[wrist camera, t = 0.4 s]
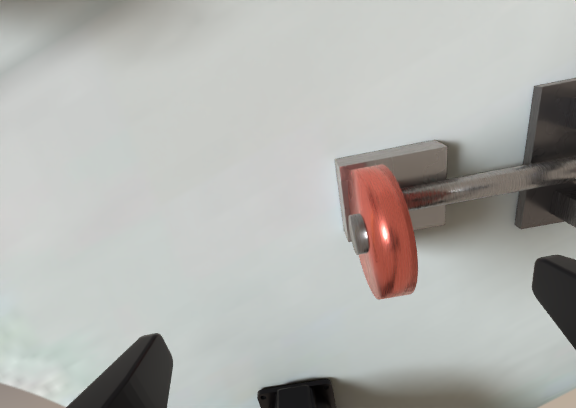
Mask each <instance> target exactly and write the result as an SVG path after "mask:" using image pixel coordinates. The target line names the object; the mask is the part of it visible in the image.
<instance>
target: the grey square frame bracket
mask: <svg viewBox="0 0 576 408" xmlns="http://www.w3.org/2000/svg"><path fill="white" fill-rule="evenodd" d="M575 155H576V78H573V79H568V80H562V81H557V82H552V83H547V84H542V85H537V86H534V91H533V98H532V105H531V112H530V119H529V126H528V133H527V140H526V147H525V154H524V161H523V165H526V164H532V163H537V162H543V161H548V160H553V159H559V158H564V157H570V156H575ZM564 221H565V222H567V223H569V224H570V225H572V226H574V227H576V181H572V182H567V183H561V184H556V185H550V186H545V187H539V188H534V189H528V190H523V191H519V197H518V204H517V211H516V218H515V225H516V226H517V227H518V228H520V229H524V228H530V227H536V226H541V225H547V224H553V223H558V222H564Z"/></svg>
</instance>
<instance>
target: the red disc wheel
mask: <svg viewBox="0 0 576 408" xmlns="http://www.w3.org/2000/svg"><path fill="white" fill-rule="evenodd" d="M335 166H336V174H337V182H338V189H339V197H340V205H341V213H342V221H343V228H344V232H345V235H346V237H347V240H348V242H351V241H352V244H353V247H354V250H355V253H356V254H357V255H359V258H360V261H361V265H362V268H363V271H364V274H365V277H366V280H367V282H368V285H369V287H370V289H371V291H372V293H373V294H374V296H375V297H376V298H377V299H385V298H391V297H397V296H403V295H409V294H411V293H413V291H414V290H415V287H416V283H417V276H418V260H417V249H416V242H415V236H414V231H413V230H418V229H424V228H429V227H435V226H441V225H445V207H446V204H452V203H457V202H463V201H468V200H474V199H479V198H485V197H490V196H496V195H501V194H506V193H512V192H517V191H523V190H528V189H534V188H539V187H545V186H550V185H556V184H561V183H567V182H572V181H576V155H575V156H570V157H564V158H559V159H553V160H548V161H543V162H537V163H532V164H526V165H521V166H516V167H510V168H505V169H500V170H494V171H489V172H483V173H478V174H473V175H467V176H462V177H456V178H451V179H446V176H447V146H446V145H444V144H442V143H440V142H438V141H436V140H432V141H426V142H421V143H416V144H411V145H406V146H400V147H395V148H390V149H385V150H379V151H374V152H369V153H364V154H359V155H353V156H348V157H343V158H338V159H335Z"/></svg>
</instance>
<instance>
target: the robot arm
mask: <svg viewBox="0 0 576 408" xmlns="http://www.w3.org/2000/svg"><path fill="white" fill-rule="evenodd" d="M532 290H533V293H534V295H535V297H536V298H537V300H538V301H539V302H540V304H541V305H542V306H543V307H544V309H545V310H546V311H547V313H548V314H549V315H550V317H551V318H552V319H553V321H554V322H555V323H556V325H557V326H558V327H559V329H560V330H561V331H562V332H563V334H564V335H565V336H566V338H567V339H568V340H569V342H570V343H571V344H572V346H573V347H574V348H575V349H576V260H574V259H571V258H568V257H564V256H560V255H551V256H546V257H541V258H539V259H537V260H536V262H535V265H534V273H533V281H532ZM172 369H173V359H172V355H171V353H170V351H169V349H168V347H167V345H166V343H165V341H164V340H163V338H162V336H161V335H160V334H158V333H154V334H149V335H144V336H142V337H140V338H139V339H138V340H137V341H136V342H135V343H134V344H133V345H132V346H131V347H129V348H128V349H127V350H126V351H125V352H124V353H123V354H122V355H121V356H120V357H119V358H118V359H117V360H116V361H115V362H114V363H113V364H112V365H110V366H109V367H108V368H107V369H106V370H105V371H104V372H103V373H102V374H101V375H100V376H99V377H98V378H97V379H96V380H95V381H94V382H93V383H92V384H90V385H89V386H88V387H87V388H86V389H85V390H84V391H83V392H82V393H81V394H80V395H79V396H78V397H77V398H76V399H75V400H74V401H73V402H71V403H70V404H69V405H68V406H67V407H66V408H167V403H168V396H169V389H170V383H171V376H172ZM257 398H258V401H259V404H260V407H261V408H336V404H335V399H334V394H333V389H332V383H331V381H330V380H328V379H324V380H318V381H312V382H306V383H300V384H293V385H287V386H281V387H275V388H268V389H262V390H260V391H258V397H257Z"/></svg>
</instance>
